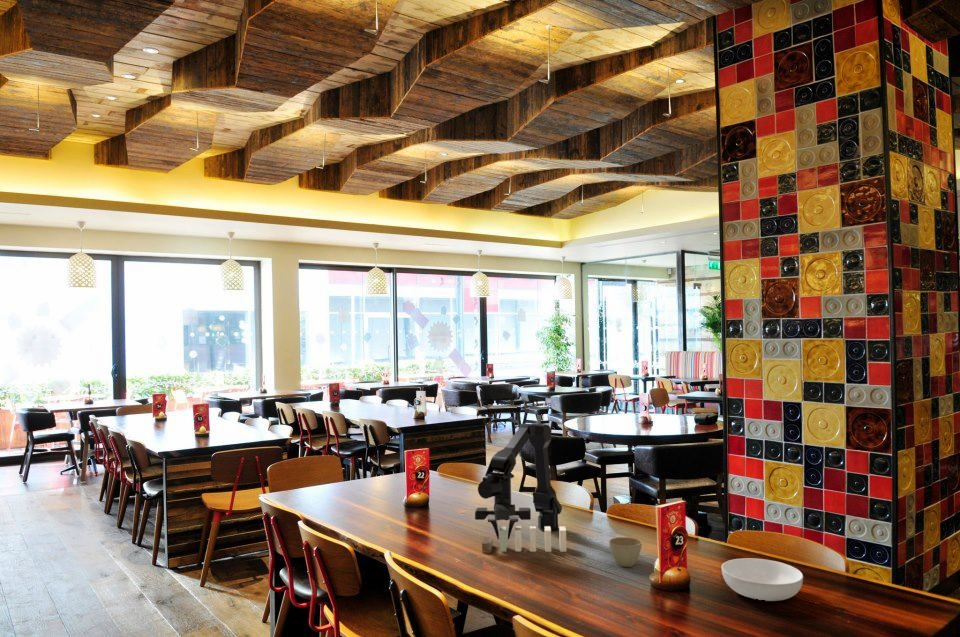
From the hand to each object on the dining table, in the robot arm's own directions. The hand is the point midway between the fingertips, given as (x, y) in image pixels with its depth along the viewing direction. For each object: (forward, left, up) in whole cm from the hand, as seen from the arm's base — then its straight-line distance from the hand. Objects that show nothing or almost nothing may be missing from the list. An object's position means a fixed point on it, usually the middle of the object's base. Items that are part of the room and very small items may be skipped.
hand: (503, 539), depth 239 cm
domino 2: (-9, +3, -3) cm, 11 cm away
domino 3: (-14, +5, -3) cm, 15 cm away
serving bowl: (-54, +62, -4) cm, 83 cm away
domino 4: (-19, +7, -3) cm, 20 cm away
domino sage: (0, 0, -3) cm, 3 cm away
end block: (+5, -2, -3) cm, 6 cm away
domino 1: (-5, +2, -3) cm, 6 cm away
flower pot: (-31, +27, -4) cm, 42 cm away
